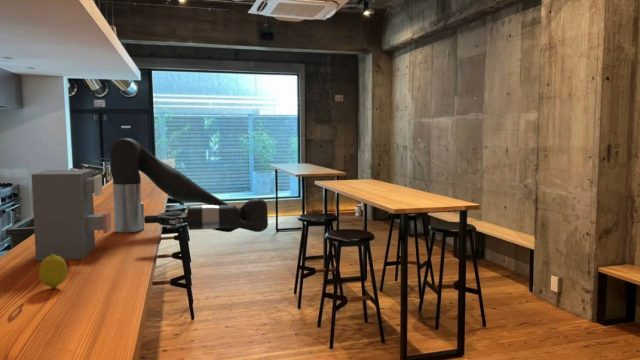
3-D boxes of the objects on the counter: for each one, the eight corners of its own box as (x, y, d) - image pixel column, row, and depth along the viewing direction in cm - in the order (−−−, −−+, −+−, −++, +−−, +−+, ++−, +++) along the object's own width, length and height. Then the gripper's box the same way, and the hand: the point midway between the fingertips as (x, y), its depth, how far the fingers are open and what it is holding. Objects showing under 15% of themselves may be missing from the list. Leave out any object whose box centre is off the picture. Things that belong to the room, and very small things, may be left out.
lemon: (55, 293, 102) (53, 258, 102) (34, 291, 103) (32, 256, 103) (73, 285, 108) (71, 251, 107) (52, 283, 109) (51, 250, 108)
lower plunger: (110, 229, 140) (110, 211, 139) (107, 232, 135) (106, 214, 134) (78, 230, 138) (77, 212, 137) (73, 234, 133) (72, 215, 132)
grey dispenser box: (95, 246, 143) (92, 169, 141) (83, 258, 130) (80, 173, 127) (52, 248, 141) (48, 170, 138) (36, 261, 127) (31, 174, 125)
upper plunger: (102, 193, 138) (101, 175, 138) (98, 195, 133) (97, 176, 133) (69, 193, 136) (68, 175, 136) (63, 196, 131) (63, 177, 130)
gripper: (203, 233, 138) (142, 236, 133) (203, 224, 150) (147, 227, 146) (203, 208, 137) (141, 210, 133) (203, 202, 150) (146, 203, 145)
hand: (144, 219), depth 139 cm, fingers closed
